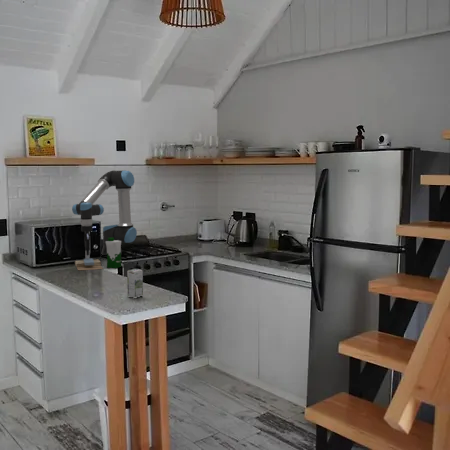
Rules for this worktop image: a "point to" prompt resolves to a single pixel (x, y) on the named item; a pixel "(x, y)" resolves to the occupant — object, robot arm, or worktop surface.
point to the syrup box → (135, 282)
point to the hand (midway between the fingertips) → (87, 259)
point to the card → (88, 261)
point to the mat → (89, 268)
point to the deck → (81, 263)
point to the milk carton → (113, 253)
